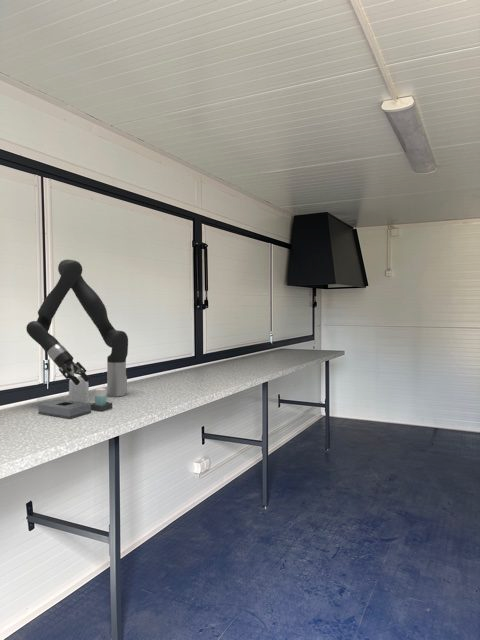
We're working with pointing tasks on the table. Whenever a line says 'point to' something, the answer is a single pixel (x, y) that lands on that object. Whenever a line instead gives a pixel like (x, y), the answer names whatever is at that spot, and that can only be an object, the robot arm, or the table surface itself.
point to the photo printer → (79, 390)
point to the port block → (64, 408)
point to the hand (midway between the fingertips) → (83, 382)
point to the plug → (100, 396)
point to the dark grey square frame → (101, 407)
